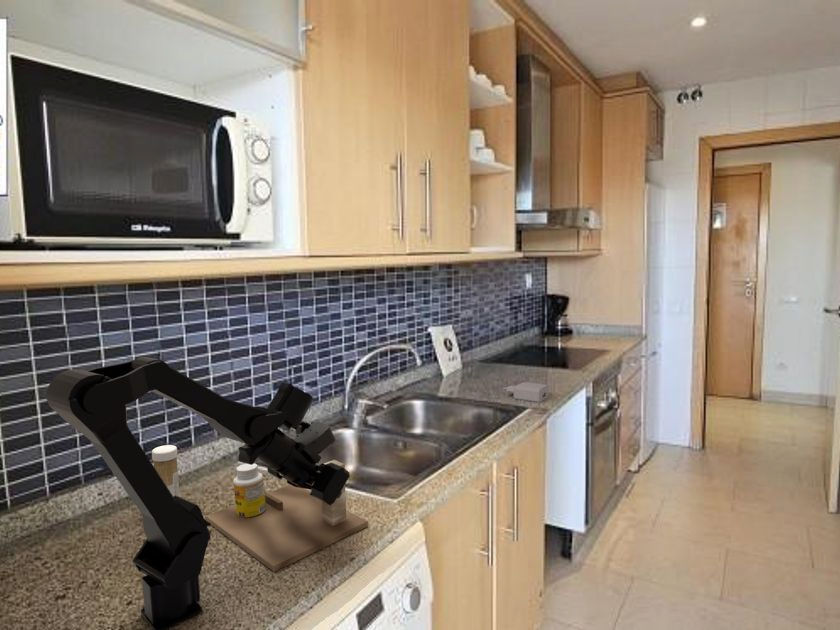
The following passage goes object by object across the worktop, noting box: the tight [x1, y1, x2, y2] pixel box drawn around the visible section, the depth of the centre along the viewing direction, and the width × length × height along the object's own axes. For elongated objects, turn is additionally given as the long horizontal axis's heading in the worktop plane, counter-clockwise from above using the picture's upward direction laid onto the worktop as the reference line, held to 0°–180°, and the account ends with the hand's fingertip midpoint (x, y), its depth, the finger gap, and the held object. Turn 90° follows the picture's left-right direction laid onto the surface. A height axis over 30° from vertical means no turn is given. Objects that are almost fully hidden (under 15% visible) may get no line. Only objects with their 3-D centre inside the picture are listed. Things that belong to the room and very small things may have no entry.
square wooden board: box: [204, 459, 369, 573], centre depth 103 cm, size 20×25×12 cm
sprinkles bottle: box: [151, 444, 180, 497], centre depth 108 cm, size 5×5×14 cm
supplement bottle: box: [232, 462, 266, 518], centre depth 106 cm, size 6×6×10 cm
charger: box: [502, 381, 550, 403], centre depth 191 cm, size 5×9×15 cm
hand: (334, 492), depth 102 cm, fingers open, 3 cm apart
